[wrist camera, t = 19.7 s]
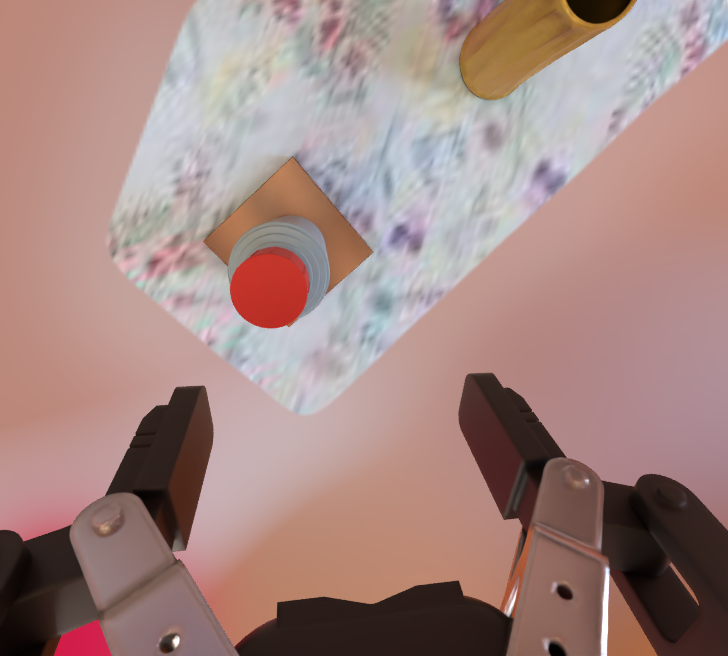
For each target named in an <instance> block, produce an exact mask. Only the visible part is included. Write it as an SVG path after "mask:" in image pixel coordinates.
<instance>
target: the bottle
mask: <svg viewBox="0 0 728 656" xmlns="http://www.w3.org/2000/svg"><path fill="white" fill-rule="evenodd" d="M275 246H277V247H280V248H284V249H287V250H289V251H291V252H294V254H296V255H297V256H298V257H299V258H300V259H301V260H302V261H303V263H304V264H305V265H306V269H307V271H308V275H309V282H310V289H309V293H308V296H307V302H306V305H305V307H304V310H303V311H302V313H301V314H300V315H299V316H298V317H297V318H296V319H298V318H300V317H303V316H305V315H306V314H308V313H310V312H311V311H312V310H314V309H315V308H316V307H317V306H318V305H319V303H320V302H321V301H322V299H323V297H324V296H325V294H326V291H327V289H328V285H329V279H330V268H329V262H328V256H327V251H326V245H325V241H324V238H323V235H322V233H321V232H320V230H319V229H318V227H317V226H316V225H315V224H314V223H312V222H311V221H310V220H308V219H306V218H304V217H300V216H295V215H288V216H283V217H280V218H277V219H274V220H271V221H268V222H265V223H263V224H260V225H258V226H255V227H253V228H251V229H250V230H248V231H247V232H246V233H244V234H243V235H242V236H241V237H240V238H239V239H238V241H237V242H236V244H235V245H234V247H233V249H232V251H231V254H230V257H229V263H228V276H229V281H230V284H231V280H232V277H233V274H234V272H235V271H236V268H237V267H239V266H240V265H241V263H243V262H244V261H245V260H246V259H248V258H249V257H250V255H252V254H253V253H254V252H255V251H257V250H258V249H259V250H261V249H264V248H268V247H275Z"/></svg>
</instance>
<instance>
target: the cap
mask: <svg viewBox="0 0 728 656" xmlns="http://www.w3.org/2000/svg"><path fill="white" fill-rule="evenodd" d="M309 289H310V282H309V275H308V271H307V269H306V265H305V264H304V263H303V261H302V260H301V259H300V258H299V257H298V256H297V255H296V254H294V252H291V251H289V250H287V249H284V248H280V247H277V246H275V247H268V248H264V249H261V250H259V249H258V250H257V251H255V252H254V253H253V254H252V255H250V257H249V258H248V259H246V260H245V261H244V262H243V263H241V265H240V266H239V267H237V268H236V271H235V272H234V274H233V277H232V280H231V284H230V294H231V299H232V302H233V305H234V307H235V309H236V310H237V311H238V313H239V314H240V315H241V316H242V317H243V318H244V319H245V320H247V321H248V322H250V323H251V324H253V325H256V326H259V327H262V328H279V327H283V326H285V325H288V324H289V323H291V322H293V321H294V320H295V319H296V318H297V317H298V316H299V315H300V314H301V313H302V311H303V310H304V307H305V305H306V302H307V296H308V293H309Z"/></svg>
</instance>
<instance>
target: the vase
mask: <svg viewBox="0 0 728 656" xmlns="http://www.w3.org/2000/svg"><path fill="white" fill-rule="evenodd" d="M636 1H637V0H504V1H503V2H502V3H501V4H500V5H499V6H497V7H496V8H495V9H494V10H493V11H492V12H491V13H490V14H489V15H488V16H487V17H486V18H485V19H484V21H482V22H480V23H479V24H478V25H476V26H475V27H474V28H473V29H472V31H471V32H470V33H469V35H468V36H467V38H466V39H465V41H464V44H463V46H462V50H461V55H460V70H461V74H462V77H463V79H464V82H465V84H466V85H467V87H468V88H469V89H470V91H471V92H473V93H474V94H475V95H477V96H478V97H480V98H483V99H487V100H496V99H501V98H503V97H506V96H507V95H509V94H510V93H512V92H513V91H514V90H515V89H517V88H518V86H519V85H520V84H522V83H523V82H524V81H526V80H527V79H529V78H530V77H531V76H533V75H534V74H536V73H537V72H539V71H540V70H542V69H543V68H545V67H546V66H548V65H549V64H551V63H552V62H554V61H555V60H557V59H559V58H560V57H562V56H563V55H565V54H567V53H568V52H570V51H572V50H574V49H575V48H577V47H579V46H580V45H582V44H584V43H585V42H587V41H588V40H590V39H592V38H593V37H595V36H597V35H598V34H600V33H601V32H603V31H605V30H607V29H609V28H610V27H612V26H613V25H615V24H616V23H617V22H619V21H620V20H621V19H622V18H623V17H624V16H626V15H627V13H628V12H629V11H630V10H631V8H632V7H633V5H634V4H635V2H636Z"/></svg>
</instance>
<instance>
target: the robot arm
mask: <svg viewBox="0 0 728 656" xmlns="http://www.w3.org/2000/svg"><path fill="white" fill-rule="evenodd" d="M459 424H460V428H461V431H462V433H463V435H464V437H465V439H466V441H467V443H468V445H469V447H470V449H471V452H472V454H473V456H474V458H475V460H476V462H477V464H478V466H479V468H480V470H481V473H482V475H483V477H484V479H485V481H486V483H487V485H488V487H489V489H490V492H491V493H492V496H493V498H494V500H495V502H496V504H497V506H498V508H499V511H500V513H501V515H502V517H503V519H504V520H506V519H516V518H519V520H520V522H521V524H522V529H521V532H520V535H519V539H518V543H517V547H516V551H515V555H514V559H513V563H512V567H511V571H510V575H509V580H508V583H507V587H506V591H505V595H504V598H503V601H502V604H501V607H500V610H499V609H497V608H495V607H494V606H491V605H490V604H488V603H485V602H483V601H481V600H478V599H475V598H472V597H468V596H463V592H462V590H461V586H460V583H459V581H451V582H443V583H434V584H427V585H418V586H414V587H413V588H410V589H408V590H405V591H403V592H401V593H398V594H396V595H394V596H391V597H389V598H387V599H385V600H383V601H380V602H378V603H375V604H365V603H360V602H353V601H347V600H341V599H334V598H329V597H318V598H310V599H301V600H293V601H285V602H278V603H277V618H275V619H273V620H270V621H268V622H266V623H265V624H263V625H261V626H260V627H258V628H256V629H255V630H253V631H252V632H251V633H249V634H248V635H247V636H245V637H244V638H243V639H242V640H241V641H240V642H239V643H238V644H237V645H236V646H235V647H234V646H233V645H232V643H231V641H230V640H229V638H228V636H227V635H226V633H225V631H224V630H223V628H222V626H221V625H220V623H219V621H218V620H217V618H216V616H215V615H214V613H213V611H212V610H211V608H210V606H209V605H208V603H207V601H206V600H205V598H204V596H203V595H202V593H201V591H200V590H199V588H198V586H197V585H196V583H195V581H194V580H193V578H192V576H191V575H190V573H189V571H188V570H187V568H186V567H185V565H184V564H183V562H182V561H181V560H180V559H179V560H177V559H176V558H175V556H174V554H173V553H172V552H173V551H182V550H186V548H187V544H188V540H189V536H190V532H191V528H192V524H193V520H194V516H195V512H196V508H197V504H198V500H199V496H200V492H201V488H202V485H203V481H204V477H205V473H206V469H207V465H208V461H209V457H210V453H211V449H212V444H213V423H212V417H211V412H210V407H209V402H208V397H207V392H206V388H205V386H186V387H176V388H175V390H174V392H173V395H172V397H171V400H170V402H169V404H168V405H160V406H156V407H155V408H154V409H152V410H151V411H150V412H149V413H148V414H147V415H146V416H145V417H144V418H143V419H142V421H141V423H140V425H139V427H138V429H137V431H136V436H134V438H133V440H132V442H131V444H130V448H129V449H128V450H127V452H126V454H125V456H124V458H123V460H122V462H121V464H120V466H119V468H118V470H117V472H116V474H115V477H114V478H113V481H112V483H111V485H110V487H109V489H108V491H107V493H106V495H105V497H102V498H100V499H98V500H96V501H95V502H93V503H91V504H90V505H89V506H87V507H86V508H85V509H84V510H83V511H82V512H81V513H80V514H79V515H78V516H77V517H76V519H75V520H74V522H73V524H72V525H70V526H67V527H65V528H62V529H60V530H56V531H53V532H51V533H48V534H45V535H42V536H39V537H36V538H33V539H30V540H27V541H23V540H22V538H21V537H20V536H19V534H17V533H16V532H13V531H9V530H0V656H54V653H55V651H56V648H57V646H58V643H59V640H60V638H61V635H63V634H65V633H67V632H69V631H72V630H74V629H77V628H79V627H81V626H83V625H86V624H88V623H91V622H93V621H95V620H97V619H98V620H99V623H100V626H101V628H102V631H103V634H104V636H105V639H106V641H107V644H108V647H109V649H110V652H111V655H112V656H606V648H607V619H608V590H609V573H610V575H611V576H612V578H613V580H614V581H615V583H616V585H617V587H618V588H619V590H620V592H621V593H622V595H623V597H624V599H625V600H626V602H627V604H628V605H629V607H630V609H631V611H632V612H633V614H634V616H635V617H636V619H637V621H638V622H639V624H640V626H641V628H642V629H643V631H644V633H645V635H646V636H647V638H648V639H649V641H650V643H651V645H652V647H653V648H654V650H655V652H656V653H657V655H658V656H728V531H727V529H726V528H725V527H724V526H723V525H722V524H721V523H720V522H719V521H718V520H717V518H716V517H715V516H714V515H713V514H712V513H711V512H710V511H709V510H708V509H707V507H706V506H705V505H704V504H703V503H702V502H701V501H700V500H699V499H698V498H697V497H696V496H695V495H694V494H693V493H692V492H691V491H690V490H689V489H688V488H686V487H685V486H683V485H682V484H680V483H678V482H677V481H675V480H672V479H670V478H667V477H665V476H661V475H656V474H647V475H643V476H641V477H640V478H639V479H638V481H637V483H636V485H635V486H634V487H632V486H627V485H622V484H617V483H611V482H606V481H602V480H601V479H600V478H599V476H598V475H597V474H596V473H595V472H594V471H593V470H592V469H590V468H589V467H588V466H586V465H584V464H583V463H581V462H579V461H576V460H573V459H569V458H567V457H566V456H565V455H564V453H563V452H562V451H561V449H560V448H559V446H558V445H557V444H556V443H555V441H554V440H553V438H552V437H551V436H550V434H549V433H548V431H547V430H546V429H545V427H544V426H543V425H542V423H541V422H539V419H538V418H537V416H536V415H535V414H534V412H532V409H531V408H530V407H529V405H528V404H527V403H526V401H525V400H524V398H522V397H521V396H520V395H519V394H517V393H516V392H514V391H513V390H512V389H510V388H503V387H502V385H501V384H500V382H499V381H498V379H497V378H496V377H495V375H494V374H493V373H474V374H468V375H467V376H466V379H465V383H464V388H463V393H462V398H461V402H460V407H459ZM671 562H672V563H673V564H674V566H675V567H676V569H677V570H678V571H679V573H680V574H681V575H682V577H683V578H684V579H685V581H686V582H687V584H688V585H689V586H690V588H691V589H692V590H693V592H694V594H695V596H696V598H697V600H698V603H699V605H698V604H697V603H696V601H695V600H694V599H693V597H692V596H691V595H690V593H689V592H688V590H687V589H686V588H685V586H684V585H683V583H682V582H681V581H680V579H679V578H678V576H677V575H676V574H675V572H674V571H673V569H672V568H671V567H670V563H671Z"/></svg>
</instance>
